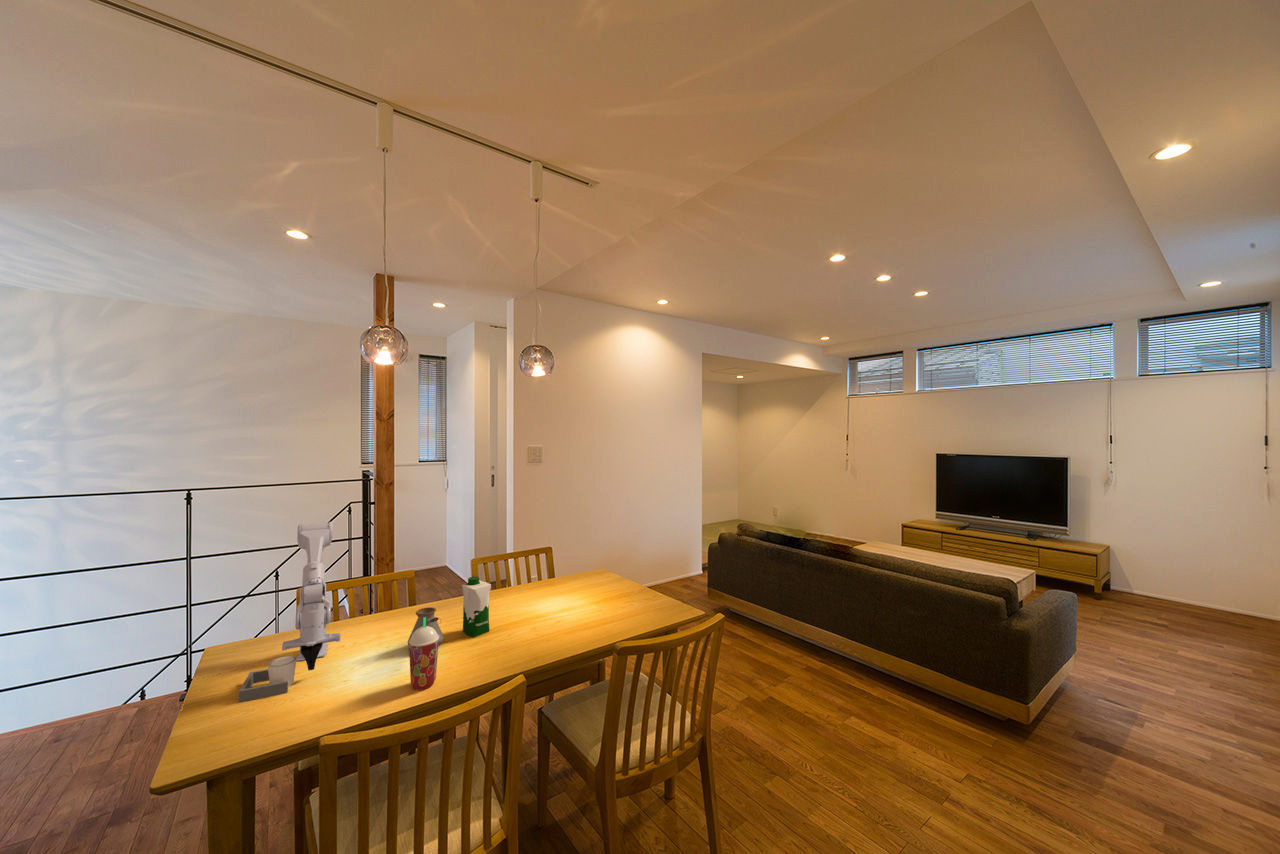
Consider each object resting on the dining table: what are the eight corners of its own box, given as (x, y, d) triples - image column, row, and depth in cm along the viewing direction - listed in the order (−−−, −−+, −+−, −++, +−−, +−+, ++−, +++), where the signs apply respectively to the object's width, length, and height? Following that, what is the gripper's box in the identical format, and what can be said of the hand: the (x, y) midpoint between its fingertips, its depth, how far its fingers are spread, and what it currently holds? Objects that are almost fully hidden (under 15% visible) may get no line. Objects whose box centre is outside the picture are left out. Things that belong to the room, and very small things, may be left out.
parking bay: (249, 682, 141) (250, 672, 141) (294, 673, 146) (295, 664, 146) (238, 702, 130) (238, 691, 130) (287, 692, 136) (287, 682, 136)
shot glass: (294, 676, 145) (294, 653, 145) (297, 685, 140) (298, 661, 140) (266, 684, 140) (266, 660, 140) (268, 693, 135) (269, 669, 135)
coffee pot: (404, 645, 166) (405, 603, 167) (438, 637, 173) (439, 596, 174) (417, 670, 149) (418, 622, 150) (455, 660, 156) (456, 614, 157)
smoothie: (442, 677, 145) (444, 612, 145) (431, 692, 136) (433, 623, 137) (415, 677, 145) (416, 612, 145) (402, 692, 136) (403, 623, 136)
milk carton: (479, 625, 184) (480, 574, 185) (493, 631, 179) (494, 578, 179) (458, 632, 177) (459, 579, 178) (472, 639, 172) (473, 584, 172)
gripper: (280, 633, 137) (279, 680, 136) (339, 624, 143) (338, 669, 143) (285, 624, 143) (284, 669, 143) (341, 616, 150) (340, 659, 149)
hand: (311, 668), depth 143 cm, fingers closed
